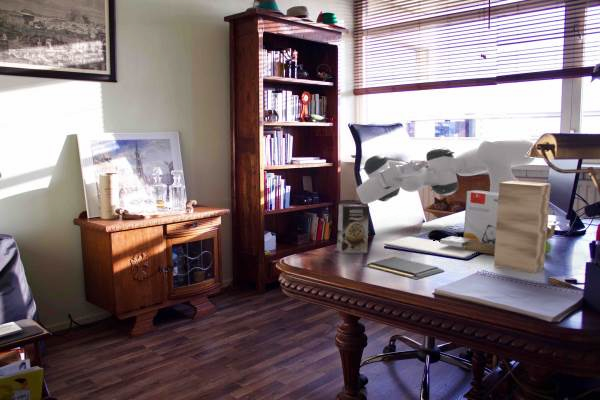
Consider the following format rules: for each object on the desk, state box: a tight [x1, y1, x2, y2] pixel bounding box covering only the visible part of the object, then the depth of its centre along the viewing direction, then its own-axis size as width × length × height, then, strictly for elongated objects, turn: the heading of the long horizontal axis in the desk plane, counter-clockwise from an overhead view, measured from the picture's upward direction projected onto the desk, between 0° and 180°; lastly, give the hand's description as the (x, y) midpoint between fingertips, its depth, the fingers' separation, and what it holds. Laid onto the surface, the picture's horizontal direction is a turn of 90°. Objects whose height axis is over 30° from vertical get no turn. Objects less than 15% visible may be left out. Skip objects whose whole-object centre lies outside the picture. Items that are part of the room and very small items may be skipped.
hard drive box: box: [463, 189, 499, 244], centre depth 189 cm, size 16×8×20 cm, turn 41°
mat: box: [384, 235, 477, 259], centre depth 188 cm, size 18×30×1 cm, turn 50°
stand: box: [493, 181, 552, 274], centre depth 161 cm, size 10×12×26 cm
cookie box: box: [336, 203, 370, 255], centre depth 178 cm, size 9×6×16 cm
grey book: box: [362, 256, 445, 281], centre depth 157 cm, size 20×2×15 cm
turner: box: [439, 235, 495, 256], centre depth 182 cm, size 9×21×3 cm, turn 49°
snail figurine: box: [545, 221, 557, 256], centre depth 178 cm, size 5×6×12 cm
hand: (420, 162), depth 191 cm, fingers open, 8 cm apart
